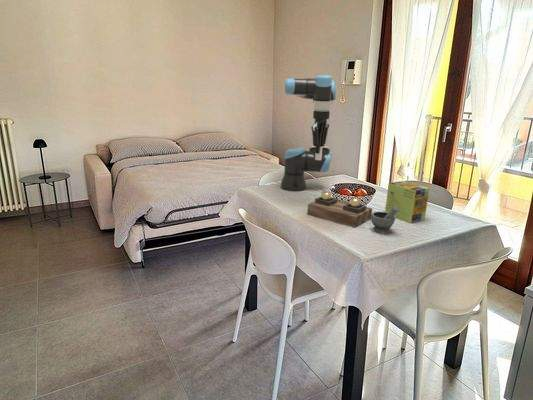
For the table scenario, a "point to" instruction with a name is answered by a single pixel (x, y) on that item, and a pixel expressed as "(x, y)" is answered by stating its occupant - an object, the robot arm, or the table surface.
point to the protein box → (407, 200)
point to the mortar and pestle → (383, 220)
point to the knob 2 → (355, 202)
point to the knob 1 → (326, 196)
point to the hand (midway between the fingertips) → (318, 159)
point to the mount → (339, 212)
